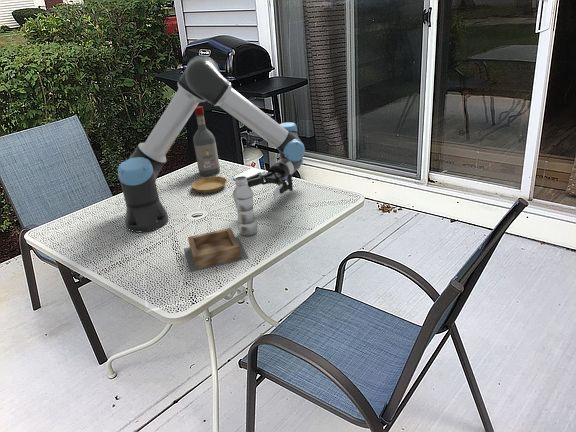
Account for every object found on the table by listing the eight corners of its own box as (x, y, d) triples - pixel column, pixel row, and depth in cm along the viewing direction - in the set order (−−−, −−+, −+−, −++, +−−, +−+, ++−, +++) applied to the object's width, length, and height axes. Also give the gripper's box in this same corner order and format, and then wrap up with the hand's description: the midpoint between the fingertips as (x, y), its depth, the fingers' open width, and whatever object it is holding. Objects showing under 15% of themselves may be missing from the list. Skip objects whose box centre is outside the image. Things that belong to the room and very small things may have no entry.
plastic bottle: (251, 239, 162) (243, 183, 154) (234, 236, 166) (226, 180, 157) (262, 231, 167) (255, 176, 159) (246, 227, 171) (238, 173, 162)
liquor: (221, 173, 222) (210, 107, 210) (201, 177, 220) (189, 110, 208) (217, 167, 230) (207, 103, 218) (198, 171, 228) (186, 106, 216)
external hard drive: (265, 173, 219) (247, 183, 210) (251, 171, 224) (232, 180, 215) (264, 170, 218) (246, 179, 210) (250, 167, 223) (232, 177, 214)
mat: (190, 273, 146) (189, 272, 146) (183, 249, 160) (183, 248, 160) (249, 259, 151) (248, 258, 151) (237, 237, 165) (237, 236, 165)
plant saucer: (225, 193, 201) (224, 188, 200) (189, 196, 202) (188, 190, 201) (229, 180, 214) (228, 175, 213) (196, 183, 215) (195, 177, 214)
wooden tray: (196, 269, 148) (193, 257, 146) (190, 248, 160) (187, 237, 158) (241, 258, 151) (239, 246, 149) (232, 239, 163) (230, 227, 161)
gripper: (312, 183, 183) (291, 206, 166) (252, 179, 193) (226, 201, 175) (311, 163, 180) (289, 185, 163) (249, 160, 189) (223, 181, 172)
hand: (256, 193), depth 169 cm, fingers open, 13 cm apart
